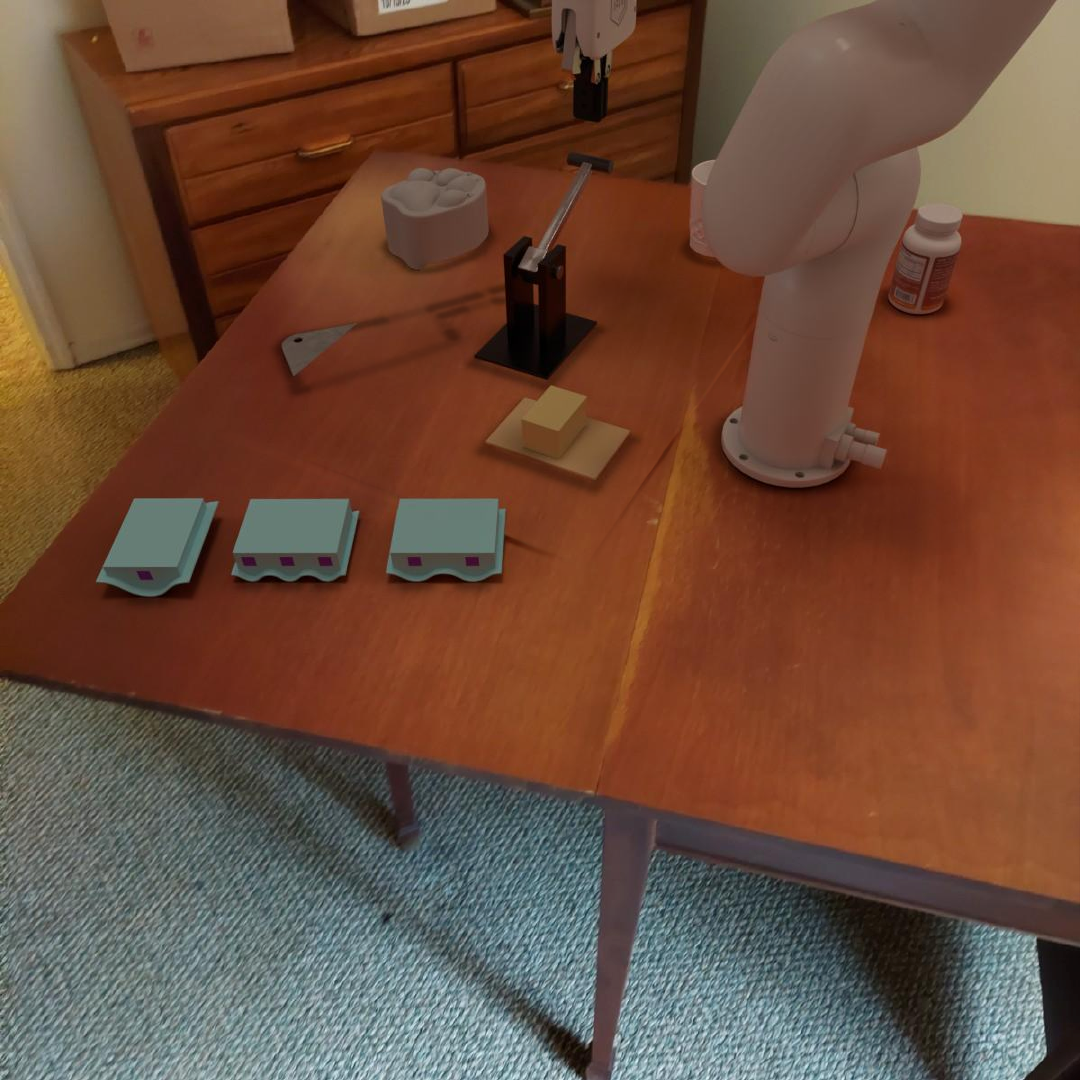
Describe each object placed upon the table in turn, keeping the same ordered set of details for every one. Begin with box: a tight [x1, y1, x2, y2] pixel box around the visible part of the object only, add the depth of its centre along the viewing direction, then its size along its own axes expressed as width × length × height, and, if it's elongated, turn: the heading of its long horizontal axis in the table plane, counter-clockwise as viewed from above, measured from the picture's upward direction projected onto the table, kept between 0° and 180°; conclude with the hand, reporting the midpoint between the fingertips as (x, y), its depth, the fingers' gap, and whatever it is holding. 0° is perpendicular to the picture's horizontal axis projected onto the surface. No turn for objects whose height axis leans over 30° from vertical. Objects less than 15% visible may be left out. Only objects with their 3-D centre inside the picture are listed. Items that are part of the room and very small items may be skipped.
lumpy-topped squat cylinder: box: [380, 167, 490, 271], centre depth 120 cm, size 10×13×9 cm
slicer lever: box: [518, 150, 615, 286], centre depth 101 cm, size 16×5×2 cm, turn 152°
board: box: [485, 396, 632, 482], centre depth 94 cm, size 12×8×1 cm, turn 62°
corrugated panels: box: [95, 497, 507, 598], centre depth 84 cm, size 34×3×10 cm
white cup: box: [689, 159, 716, 259], centre depth 117 cm, size 8×8×10 cm
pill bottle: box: [887, 202, 964, 315], centre depth 108 cm, size 6×6×11 cm
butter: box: [521, 385, 588, 459], centre depth 93 cm, size 6×4×4 cm, turn 152°
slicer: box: [474, 235, 598, 381], centre depth 102 cm, size 12×9×12 cm
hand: (590, 117), depth 100 cm, fingers closed
